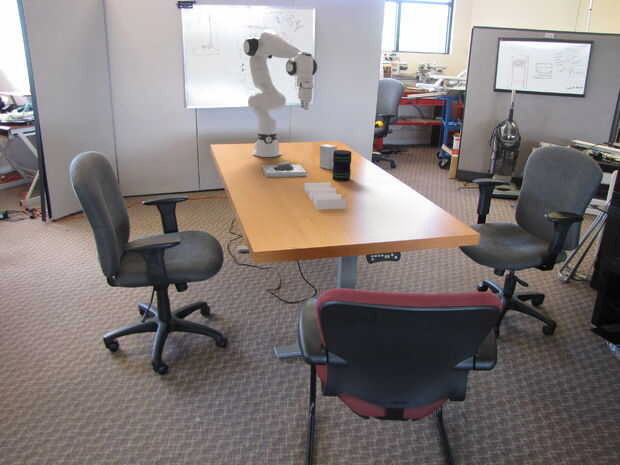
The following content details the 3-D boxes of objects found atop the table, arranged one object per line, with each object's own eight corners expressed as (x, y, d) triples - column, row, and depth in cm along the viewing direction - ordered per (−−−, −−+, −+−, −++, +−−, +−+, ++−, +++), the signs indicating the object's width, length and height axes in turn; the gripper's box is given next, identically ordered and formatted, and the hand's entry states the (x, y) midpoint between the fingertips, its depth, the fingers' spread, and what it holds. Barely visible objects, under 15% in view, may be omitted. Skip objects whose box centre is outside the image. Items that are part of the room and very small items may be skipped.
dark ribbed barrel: (351, 177, 282) (353, 150, 276) (348, 182, 273) (349, 154, 267) (334, 176, 284) (335, 149, 279) (330, 180, 275) (331, 152, 270)
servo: (274, 171, 289) (274, 161, 287) (291, 171, 291) (291, 161, 289) (275, 173, 285) (275, 163, 283) (292, 172, 287) (292, 162, 285)
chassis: (262, 169, 294) (262, 165, 293) (299, 168, 298) (299, 164, 297) (266, 177, 278) (266, 172, 277) (305, 176, 282) (305, 171, 281)
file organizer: (327, 188, 262) (328, 178, 261) (345, 209, 230) (346, 198, 229) (302, 189, 260) (302, 179, 258) (317, 210, 228) (317, 199, 226)
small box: (336, 168, 302) (337, 146, 297) (328, 169, 298) (328, 147, 293) (327, 165, 308) (327, 143, 303) (319, 166, 304) (319, 145, 299)
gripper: (295, 81, 291) (295, 106, 296) (302, 84, 272) (302, 111, 277) (306, 81, 292) (306, 106, 297) (314, 85, 273) (313, 111, 278)
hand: (304, 109), depth 287 cm, fingers open, 8 cm apart
